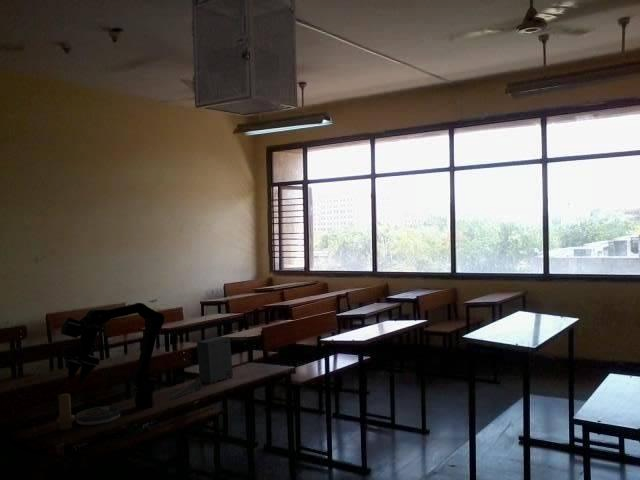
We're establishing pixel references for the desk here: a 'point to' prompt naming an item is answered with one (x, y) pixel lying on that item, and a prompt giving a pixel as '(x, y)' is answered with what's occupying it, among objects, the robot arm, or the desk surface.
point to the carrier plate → (98, 415)
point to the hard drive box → (214, 359)
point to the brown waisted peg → (65, 412)
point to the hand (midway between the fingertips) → (74, 381)
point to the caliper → (191, 386)
